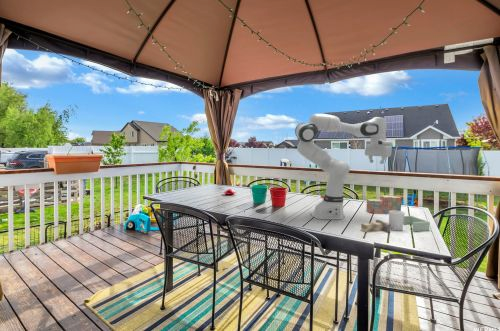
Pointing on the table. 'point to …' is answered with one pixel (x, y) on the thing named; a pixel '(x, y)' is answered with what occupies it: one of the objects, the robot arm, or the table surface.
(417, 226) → the box
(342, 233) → the table surface
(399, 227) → the white cup
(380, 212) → the stack of blocks
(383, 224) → the scraper
